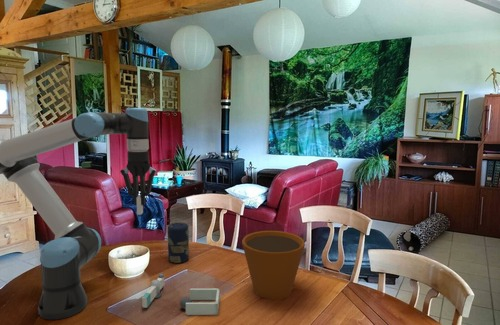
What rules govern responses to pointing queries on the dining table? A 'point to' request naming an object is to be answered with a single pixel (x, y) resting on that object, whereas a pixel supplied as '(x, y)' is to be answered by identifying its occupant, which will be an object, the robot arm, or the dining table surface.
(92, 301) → the dining table surface
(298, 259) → the flower pot
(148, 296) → the teal-tipped knobbed bar
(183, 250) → the canister
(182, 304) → the ball
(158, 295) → the pivot base
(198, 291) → the box
